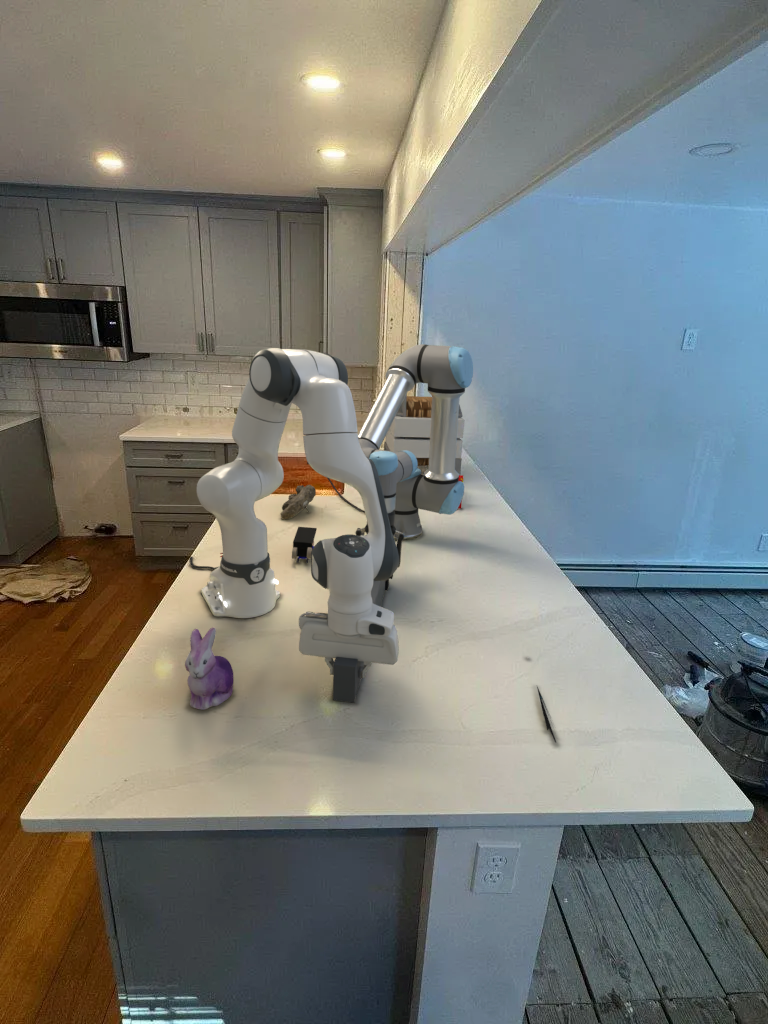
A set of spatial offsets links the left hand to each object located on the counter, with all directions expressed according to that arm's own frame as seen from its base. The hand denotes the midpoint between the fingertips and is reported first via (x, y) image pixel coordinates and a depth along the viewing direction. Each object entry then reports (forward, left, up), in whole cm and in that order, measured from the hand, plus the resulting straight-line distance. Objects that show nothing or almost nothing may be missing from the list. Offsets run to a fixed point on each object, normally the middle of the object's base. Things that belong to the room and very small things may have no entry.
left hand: (348, 674), depth 117 cm
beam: (-15, +17, -3) cm, 23 cm away
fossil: (-96, +50, -3) cm, 108 cm away
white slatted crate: (-110, +127, -3) cm, 168 cm away
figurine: (-14, -23, -3) cm, 28 cm away
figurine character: (-60, +29, -3) cm, 67 cm away
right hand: (-30, +33, -3) cm, 45 cm away
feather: (+27, +30, -3) cm, 40 cm away
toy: (-76, +110, -3) cm, 134 cm away
